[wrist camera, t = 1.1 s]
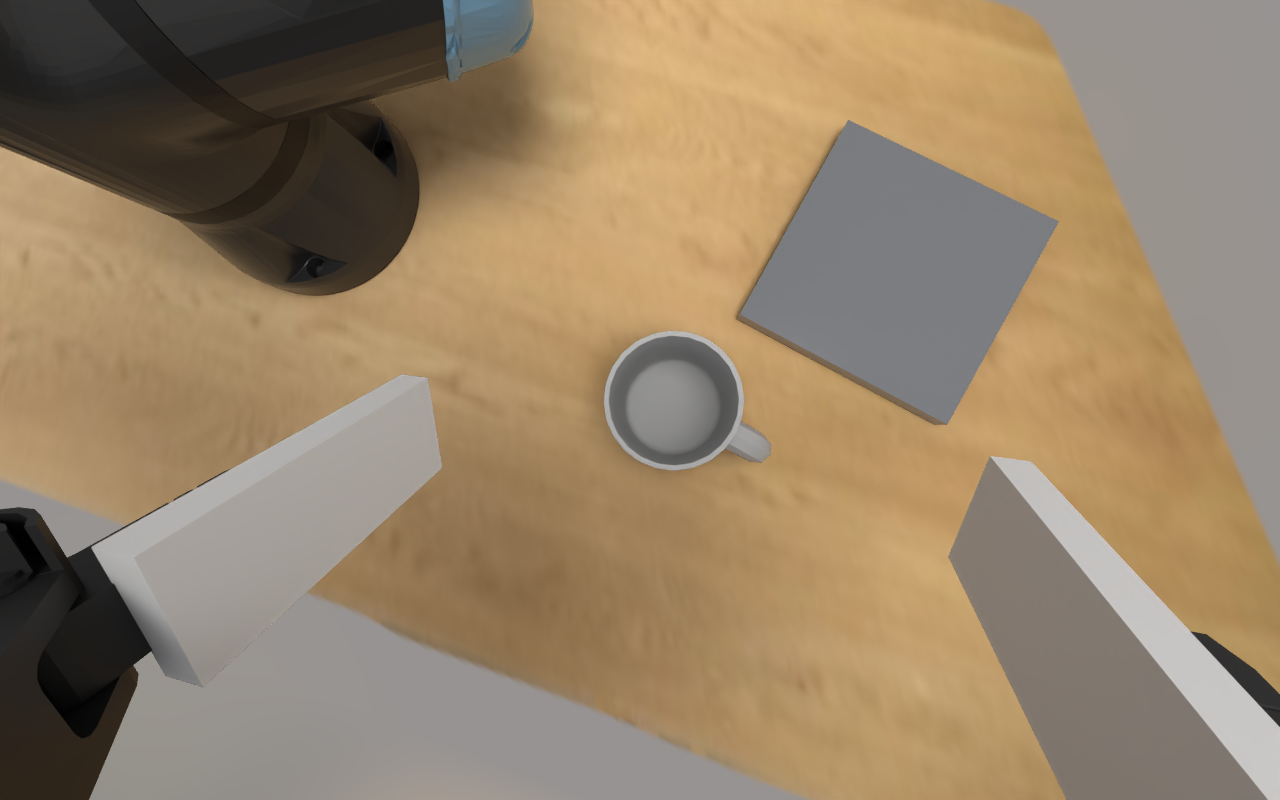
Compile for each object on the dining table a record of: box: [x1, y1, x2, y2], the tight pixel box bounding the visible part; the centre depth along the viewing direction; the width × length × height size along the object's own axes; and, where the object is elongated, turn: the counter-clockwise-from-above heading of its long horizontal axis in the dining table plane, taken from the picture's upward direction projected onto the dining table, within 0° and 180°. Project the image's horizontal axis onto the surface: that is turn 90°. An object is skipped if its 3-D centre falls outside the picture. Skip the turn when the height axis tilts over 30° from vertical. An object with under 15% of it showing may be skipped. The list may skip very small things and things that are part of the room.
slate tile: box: [737, 120, 1059, 425], centre depth 33 cm, size 15×15×2 cm
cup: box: [604, 331, 771, 471], centre depth 29 cm, size 7×10×9 cm
